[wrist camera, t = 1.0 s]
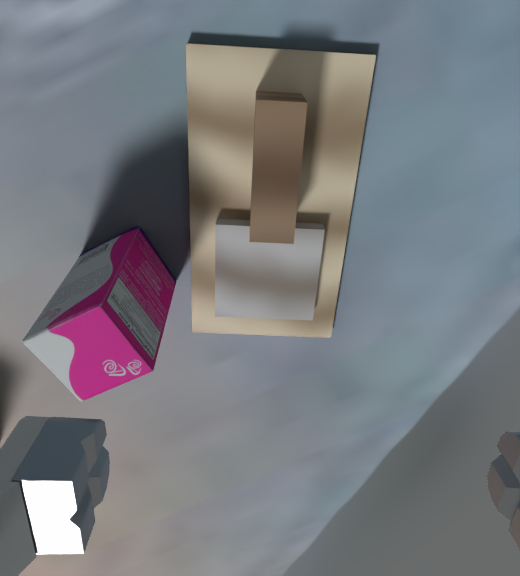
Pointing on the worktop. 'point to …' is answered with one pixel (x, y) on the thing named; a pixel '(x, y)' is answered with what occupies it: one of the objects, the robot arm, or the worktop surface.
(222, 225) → the paddle
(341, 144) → the board
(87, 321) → the supplement box
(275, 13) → the worktop surface
